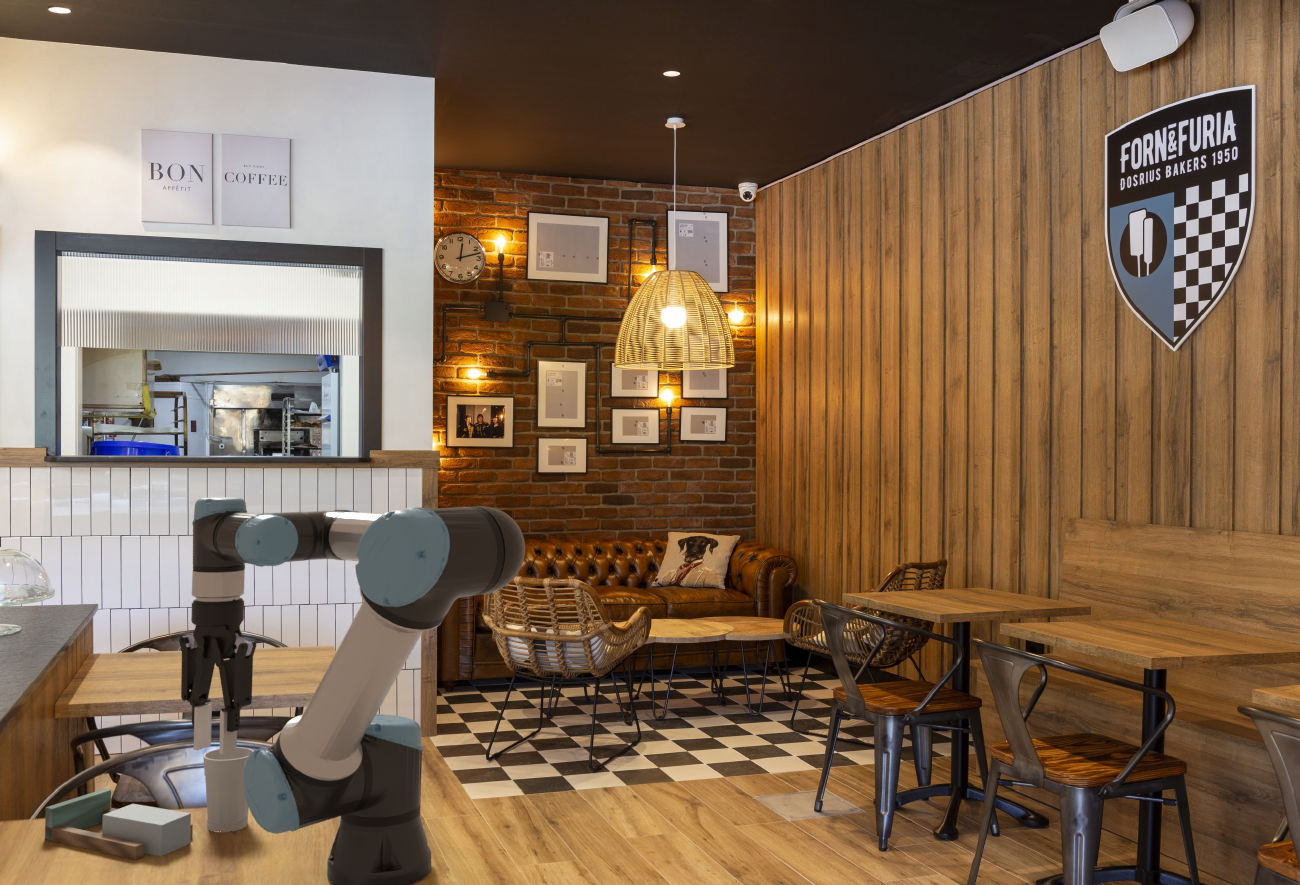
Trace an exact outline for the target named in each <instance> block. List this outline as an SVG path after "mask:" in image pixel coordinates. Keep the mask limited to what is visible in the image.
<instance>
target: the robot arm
mask: <svg viewBox="0 0 1300 885" xmlns="http://www.w3.org/2000/svg"><path fill="white" fill-rule="evenodd" d="M193 514H194V515H193V521H192V523H191V524H192V576H191V577H192V579H191V582H192V583H191V596H192V597H194V598H195V599H193V600H192V601H191V619H190V620H191V621H190V622H191V623H192V624H193V625H194V630H193V633H192V634H187V635H183V636H180V637H179V639H178V642H179V647H180V650H181V674H180V675H181V681H180V682H181V683H180V684H181V686H180V687H181V688H180V693H181V694H180V695H181V697H180V698H181V700H182V701H184V702H185V701H186V702H189V704H190V706H191V725H192V727H194V728H193V750H195V751H199V750H203V749H206V748H210V747H212V717H213V716H212V714H213V713H212V712H213V710H212V708H213V707H212V706H213V705H212V703H209V702H211V701H212V698H210V697H209V696H210V691H211V685H212V679H213V675H214V672H215V666H216V667H217V668H218V672H219V680H220V684H221V686H220V687H221V690H222V698H223V705H224V707H222V708H220V712H219V713H220V714H219V748H218V749H219V754H222V755H223V754H227V753H230V752H233V751H236V750H237V747H238V746H237V740H238V731H239V729H240V727H241V720H240V719H241V710H242V708H243V707H248V706H250V705H252V703H253V702H252V701H253V700H252V699H253V674H254V673H253V671H254V670H253V668H254V654H255V651H256V649H257V643H256V641H255V640H252V641H248V639H247V640H246V639H245V638H243V633H242V630H241V624H242V623H243V622H244V619H245V600H244V599H243V597H241V596H243V595H244V594H245V574H246V573H245V570H246V564H247V565H248V564H249V565H252V566H253V565H254V566H256V567H260V568H262V567H277V566H280V565H283V564H285V563H288V562H289V563H291V562H301V561H303V562H304V561H315V560H337V561H338V560H339V561H349V562H350V561H351V562H357V563H356V564H355V567H354V568H355V575H356V579H357V583H358V586H359V594H360V596H361V599H362V603H361V605H360V607H359V609H358V611H357V613H356V615H355V616H354V618H353V620H352V622H351V623H350V626H349V628H348V630H347V631H346V633H345V635H344V636H343V639H342V641H341V643H340V645H339V647H338V648H337V649H336V650H337V651H336V652H335V654H334V656H332V657H333V658H332V659H331V662H330V663H329V665H328V667H327V669H326V671H325V673H324V674H323V676H322V678H321V681H319V683H318V686H317V688H316V690H315V691H314V693H313V695H312V697H311V699H310V700H309V703H308V704H307V706H306V708H305V710H304V712H303V714H300V715H297V716H295V717H293V718H291V719H290V720H288V721H287V722H286V723H285V725H284V726H283V727H282V729H281V731H280V733H279V735H278V737H277V739H276V740H275V742H274V743H273V744H272V745H271V746H268V747H267V746H261V747H259V748H258V749H256V750H254V751H253V752H252V753H251V754H250V755H249V756H248V758H247V760H246V762H245V766H244V772H243V784H244V790H245V797H246V800H247V804H248V807H249V808H248V810H249V811H250V813H251V815H252V817H253V819H254V820H255V822H256V823H257V825H259V827H260V828H261V829H263V830H264V831H265V832H269V833H272V834H274V835H277V834H282V833H287V832H295V831H296V832H297V831H298V830H300V829H303V828H306V827H309V826H313V825H316V824H319V823H322V822H326V821H329V820H332V819H335V818H339V817H340V820H339V821H340V823H339V826H338V829H337V832H336V835H335V838H334V841H333V843H332V847H331V849H330V853H329V855H328V859H327V862H326V863H327V867H326V868H327V869H326V870H327V871H326V876H327V880H328V881H329V883H331V884H333V885H413V884H416V883H417V882H420V881H422V880H423V879H424V878H426V877H427V876H428V875H429V874H430V873H431V871H432V851H431V848H430V846H429V845H428V844H429V843H428V840H427V836H426V832H425V829H424V826H423V821H422V819H421V818H422V817H421V801H422V800H421V799H422V798H421V796H422V767H423V764H422V762H423V750H424V747H423V745H422V744H423V742H422V740H423V739H422V728H421V726H420V724H419V723H418V722H417V721H416V720H414V719H411V718H409V717H404V716H400V715H395V714H394V715H393V714H384V713H378V711H379V710H380V708H381V706H382V704H383V703H384V701H385V699H386V697H387V696H388V694H389V692H390V690H391V689H392V687H393V685H394V683H395V681H396V680H397V678H398V676H399V675H400V673H401V671H402V669H403V667H404V666H405V664H406V662H407V660H408V659H409V658H410V655H411V654H412V652H413V650H414V649H415V646H416V645H417V643H418V641H419V640H420V637H421V635H422V634H423V632H427V631H431V630H434V629H436V628H437V627H439V626H441V624H442V623H443V621H444V619H445V617H446V615H447V614H448V613H449V611H450V609H451V607H452V606H453V604H454V603H455V601H456V600H457V599H459V598H466V597H472V596H473V597H474V596H481V595H488V594H490V593H493V592H496V591H499V590H501V589H503V588H504V587H506V586H508V584H509V583H511V582H512V581H513V580H514V579H515V577H517V575H518V573H519V572H520V570H521V568H522V566H523V563H524V560H525V556H526V544H525V538H524V535H523V532H522V530H521V527H520V525H518V523H517V522H516V521H515V520H514V519H513V517H511V516H510V515H509V514H507V513H506V512H504V511H502V510H500V509H499V508H495V507H489V506H485V505H483V506H482V505H472V506H455V507H440V508H439V507H438V508H437V507H436V508H426V507H421V506H412V507H406V508H403V509H396V510H391V511H388V512H387V511H386V512H385V513H380V512H379V513H378V512H360V511H358V510H350V509H334V510H321V511H319V510H317V511H292V512H291V511H288V512H284V511H283V512H262V513H261V512H258V513H257V512H248V511H247V503H246V501H245V499H244V498H242V497H235V496H234V497H232V496H230V497H229V496H227V497H225V496H224V497H222V496H215V497H214V496H213V497H209V496H208V497H200V498H199V499H197V500H196V501H195V502H194V513H193Z"/></svg>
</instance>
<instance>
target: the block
mask: <svg viewBox="0 0 1300 885" xmlns="http://www.w3.org/2000/svg"><path fill="white" fill-rule="evenodd" d="M116 809H117V810H114V811H112V812H109V813H106V814H104V815H103V822H102V826H101V827H102V832H101V834H103V835H108V836H112V837H117V838H121V839H126V840H130V841H135V842H140V843H144V854H147V855H153V856H158V857H163V856H165V855H167V854H170V853H172V852H174V851H177V850H178V849H181V848H184V847H185V846H188V845H190V844H191V838H190V832H191V824H192V823H191V821H192V813H190V812H184V811H178V810H172V809H166V808H161V807H154V806H149V805H144V804H137V803H131V804H128V805H126V806H123V807H121V808H116ZM189 843H190V844H189Z"/></svg>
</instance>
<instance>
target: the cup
mask: <svg viewBox="0 0 1300 885" xmlns="http://www.w3.org/2000/svg"><path fill="white" fill-rule="evenodd" d="M219 749H220V748H217V749H212V750H209V751H206V752H205V753H204V754H203V756H202V757H203V771H204V776H205V794H206V795H205V796H206V810H207V812H206V813H207V820H206V823H207V824H206V829H207V828H208V829H209V830H212V831H219V832H218V833H231V832H230V831H232V832H236V831H239V830H242V829H244V827H245V828H247V826H248V824H249V822H248V821H249V807H248V804H247V800H246V797H245V790H244V784H243V772H244V766H245V762H246V760H247V758H248V756H249V755H250V754H251V753H252V752H253V751H255V750H254V749H252V748H248V747H241V746H240V747H239V746H237V750H236V751H233V752H230V753H227V754H223V755H222V754H219ZM208 829H207V830H208ZM209 830H208V831H209ZM235 830H236V831H235ZM212 831H211V832H212ZM220 831H221V832H220Z"/></svg>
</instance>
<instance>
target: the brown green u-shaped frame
mask: <svg viewBox="0 0 1300 885" xmlns="http://www.w3.org/2000/svg"><path fill="white" fill-rule="evenodd" d="M117 809H118V808H115V807H112V789H109V788H103V789H100V790H96V791H93V792H91V793H87V794H84V795H80V796H78V797H75V798H72V799H68V800H64V801H62V802H58V803H56V804H52V805H49V806H46V807H45V816H44V817H45V819H44V820H45V823H44V828H45V829H44V840H48V841H52V842H57V843H61V844H64V845H65V844H66V845H70V846H74V847H79V848H82V849H86V850H92V851H96V852H101V853H105V854H108V855H109V854H110V855H114V856H117V857H121V858H126V859H131V860H135V861H137V860H138V859H142V858H144V856H145V853H144V843H140V842H135V841H130V840H126V839H121V838H117V837H112V836H108V835H103V834H102V833H98V832H95V831H89V830H85V829H88V828H91V827H93V826H97V825H99V824H103V815H104V814H106V813H109V812H112V811H114V810H117ZM193 825H194V824H192V823H191V832H190V839H192V838H193V829H194V828H193V827H194V826H193Z"/></svg>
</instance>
